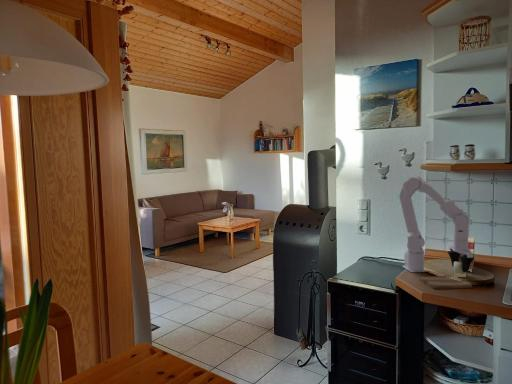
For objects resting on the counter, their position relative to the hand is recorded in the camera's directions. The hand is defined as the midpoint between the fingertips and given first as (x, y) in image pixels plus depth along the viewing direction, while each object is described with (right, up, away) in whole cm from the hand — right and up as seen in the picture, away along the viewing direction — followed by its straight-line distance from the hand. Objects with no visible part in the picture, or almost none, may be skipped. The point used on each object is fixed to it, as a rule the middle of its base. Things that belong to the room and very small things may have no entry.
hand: (460, 269), depth 174 cm
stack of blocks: (+11, -2, +15) cm, 19 cm away
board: (-11, -4, -9) cm, 15 cm away
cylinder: (0, -3, 0) cm, 3 cm away
